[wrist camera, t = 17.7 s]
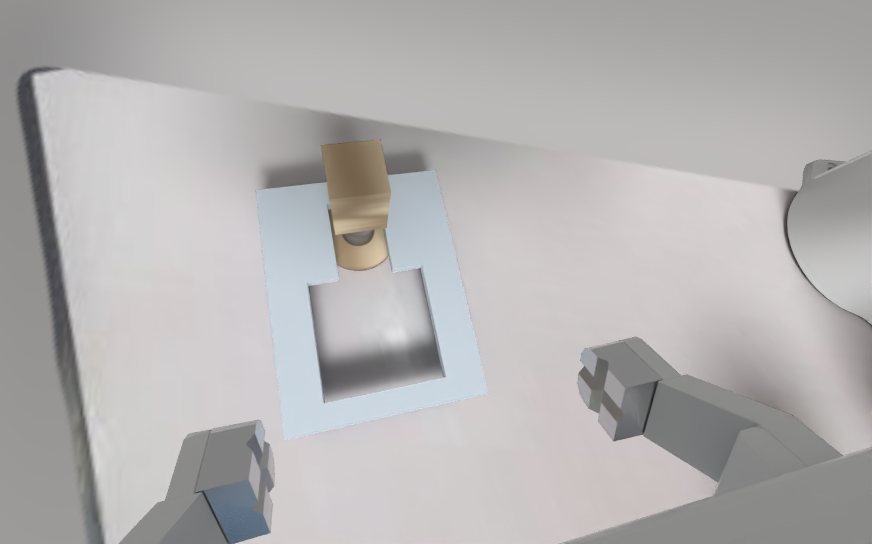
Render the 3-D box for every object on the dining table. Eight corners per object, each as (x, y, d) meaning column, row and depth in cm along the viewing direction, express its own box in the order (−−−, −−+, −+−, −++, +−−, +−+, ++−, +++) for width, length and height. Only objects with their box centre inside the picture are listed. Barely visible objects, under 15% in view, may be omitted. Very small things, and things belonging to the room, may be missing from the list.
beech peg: (387, 199, 38) (396, 120, 27) (400, 264, 36) (414, 208, 26) (316, 208, 36) (297, 129, 26) (326, 276, 35) (310, 221, 25)
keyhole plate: (430, 188, 39) (435, 169, 36) (477, 394, 34) (488, 393, 31) (264, 208, 36) (255, 190, 33) (291, 437, 31) (284, 440, 28)
